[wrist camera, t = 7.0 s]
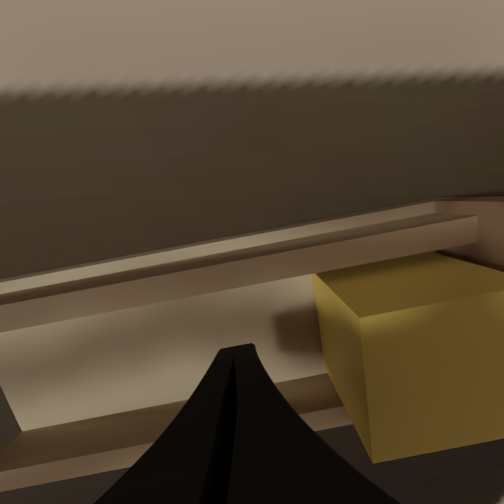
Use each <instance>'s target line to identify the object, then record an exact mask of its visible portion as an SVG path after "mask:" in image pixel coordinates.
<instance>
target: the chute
mask: <svg viewBox="0 0 504 504" xmlns="http://www.w3.org/2000/svg"><path fill="white" fill-rule="evenodd" d="M425 252H433V253H437V254H441V255H444V256H448V257H451V258H455V259H458V260H462V261H466V262H469V263H473V264H476V265H480V266H484V267H487V268H491V269H494V270H498V271H501V272H504V196H495V197H436V198H431V199H426V200H420V201H415V202H410V203H404V204H399V205H394V206H388V207H383V208H378V209H372V210H367V211H362V212H356V213H351V214H346V215H340V216H335V217H330V218H324V219H319V220H314V221H308V222H303V223H298V224H292V225H287V226H282V227H276V228H271V229H266V230H260V231H255V232H250V233H244V234H239V235H234V236H228V237H223V238H218V239H212V240H207V241H202V242H196V243H191V244H186V245H180V246H175V247H170V248H164V249H159V250H154V251H148V252H143V253H138V254H132V255H127V256H122V257H116V258H111V259H106V260H100V261H95V262H90V263H84V264H79V265H74V266H68V267H63V268H58V269H52V270H47V271H42V272H36V273H31V274H26V275H20V276H15V277H10V278H4V279H0V386H1V388H2V390H3V392H4V394H5V396H6V398H7V400H8V403H9V405H10V407H11V409H12V411H13V413H14V415H15V417H16V419H17V422H18V424H19V426H20V428H21V430H22V432H21V433H20V434H19V435H18V436H17V437H16V438H15V440H14V441H13V442H12V443H11V444H10V445H9V446H8V447H7V448H6V449H5V450H4V451H3V452H2V453H1V454H0V492H2V491H7V490H12V489H18V488H23V487H28V486H33V485H38V484H44V483H49V482H54V481H59V480H64V479H69V478H75V477H80V476H85V475H90V474H95V473H101V472H106V471H111V470H116V469H121V468H127V467H132V466H133V465H134V463H135V462H136V461H137V460H138V459H139V458H140V457H141V456H142V455H143V454H144V453H145V452H146V451H147V450H148V449H149V448H150V447H151V446H152V445H153V443H154V442H155V441H156V440H157V439H158V438H159V436H160V435H161V434H162V433H163V432H164V431H165V429H166V428H167V427H168V426H169V425H170V423H171V422H172V421H173V419H174V418H175V417H176V416H177V414H178V413H179V412H180V410H181V409H182V407H183V406H184V405H185V403H186V402H187V400H188V399H189V398H190V396H191V395H192V393H193V392H194V390H195V389H196V387H197V386H198V384H199V383H200V381H201V380H202V378H203V376H204V375H205V373H206V372H207V370H208V368H209V367H210V365H211V363H212V361H213V360H214V358H215V356H216V354H217V353H218V351H219V350H220V349H221V348H227V347H232V346H237V345H243V344H248V343H253V344H254V345H255V347H256V351H257V354H258V356H259V359H260V361H261V363H262V365H263V366H264V368H265V370H266V371H267V373H268V375H269V376H270V378H271V380H272V381H273V383H274V384H275V386H276V387H277V388H278V390H279V391H280V392H281V394H282V395H283V396H284V398H285V399H286V400H287V401H288V403H289V404H290V405H291V406H292V408H293V409H294V410H295V411H296V412H297V413H298V414H299V416H300V417H301V418H302V419H303V420H304V421H305V422H306V423H307V424H308V425H309V426H310V427H311V428H312V429H313V430H314V431H319V430H324V429H329V428H334V427H339V426H344V425H350V424H353V422H352V420H351V418H350V416H349V414H348V413H347V411H346V409H345V407H344V405H343V403H342V401H341V399H340V397H339V395H338V393H337V391H336V389H335V387H334V385H333V383H332V381H331V379H330V377H329V375H328V373H327V371H326V369H325V366H324V358H323V351H322V343H321V336H320V329H319V321H318V314H317V306H316V299H315V291H314V284H313V277H312V274H313V273H319V272H324V271H329V270H335V269H340V268H345V267H350V266H356V265H361V264H366V263H372V262H377V261H382V260H387V259H393V258H398V257H403V256H409V255H414V254H419V253H425Z"/></svg>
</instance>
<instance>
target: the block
mask: <svg viewBox="0 0 504 504" xmlns="http://www.w3.org/2000/svg"><path fill="white" fill-rule="evenodd" d="M312 277H313V284H314V291H315V299H316V306H317V314H318V321H319V329H320V336H321V343H322V351H323V358H324V366H325V369H326V371H327V373H328V375H329V377H330V379H331V381H332V383H333V385H334V387H335V389H336V391H337V393H338V395H339V397H340V399H341V401H342V403H343V405H344V407H345V409H346V411H347V413H348V414H349V416H350V418H351V420H352V422H353V424H354V426H355V428H356V430H357V432H358V434H359V436H360V438H361V440H362V442H363V444H364V446H365V448H366V450H367V452H368V454H369V456H370V458H371V460H372V462H373V464H374V463H379V462H384V461H389V460H394V459H399V458H404V457H410V456H415V455H420V454H425V453H430V452H435V451H441V450H446V449H451V448H456V447H461V446H466V445H472V444H477V443H482V442H487V441H492V440H497V439H502V438H504V272H501V271H498V270H494V269H491V268H487V267H484V266H480V265H476V264H473V263H469V262H466V261H462V260H458V259H455V258H451V257H448V256H444V255H441V254H437V253H433V252H425V253H419V254H414V255H409V256H403V257H398V258H393V259H387V260H382V261H377V262H372V263H366V264H361V265H356V266H350V267H345V268H340V269H335V270H329V271H324V272H319V273H313V274H312Z"/></svg>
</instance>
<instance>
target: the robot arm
mask: <svg viewBox="0 0 504 504" xmlns="http://www.w3.org/2000/svg"><path fill="white" fill-rule="evenodd" d="M94 504H401V503H399V502H398V501H397V500H395V499H394V498H393V497H391V496H390V495H388V494H387V493H386V492H384V491H383V490H382V489H381V488H379V487H378V486H377V485H375V484H374V483H373V482H372V481H370V480H369V479H368V478H367V477H365V476H364V475H363V474H361V473H360V472H359V471H358V470H357V469H356V468H354V467H353V466H352V465H351V464H350V463H348V462H347V461H346V460H345V459H344V458H342V457H341V456H340V455H339V454H338V453H337V452H336V451H335V450H334V449H333V448H332V447H331V446H329V445H328V444H327V443H326V442H325V441H324V440H323V439H322V438H321V437H320V436H319V435H318V434H317V433H316V432H315V431H314V430H313V429H312V428H311V427H310V426H309V425H308V424H307V423H306V422H305V421H304V420H303V419H302V418H301V417H300V416H299V414H298V413H297V412H296V411H295V410H294V409H293V408H292V406H291V405H290V404H289V403H288V401H287V400H286V399H285V398H284V396H283V395H282V394H281V392H280V391H279V390H278V388H277V387H276V386H275V384H274V383H273V381H272V380H271V378H270V376H269V375H268V373H267V371H266V370H265V368H264V366H263V365H262V363H261V361H260V359H259V356H258V354H257V351H256V347H255V345H254V344H253V343H248V344H243V345H237V346H232V347H227V348H221V349H220V350H219V351H218V353H217V354H216V356H215V358H214V360H213V361H212V363H211V365H210V367H209V368H208V370H207V372H206V373H205V375H204V376H203V378H202V380H201V381H200V383H199V384H198V386H197V387H196V389H195V390H194V392H193V393H192V395H191V396H190V398H189V399H188V400H187V402H186V403H185V405H184V406H183V407H182V409H181V410H180V412H179V413H178V414H177V416H176V417H175V418H174V419H173V421H172V422H171V423H170V425H169V426H168V427H167V428H166V429H165V431H164V432H163V433H162V434H161V435H160V436H159V438H158V439H157V440H156V441H155V442H154V443H153V445H152V446H151V447H150V448H149V449H148V450H147V451H146V452H145V453H144V454H143V455H142V456H141V457H140V458H139V459H138V460H137V461H136V462H135V463H134V465H133V466H132V467H131V468H130V469H129V470H128V471H127V472H126V473H125V474H124V475H123V476H122V477H121V478H120V479H119V480H118V481H117V482H116V483H115V484H114V485H113V486H112V487H111V488H110V489H109V490H108V491H107V492H105V493H104V494H103V495H102V496H101V497H100V498H99V499H98V500H97V501H96V502H95V503H94Z"/></svg>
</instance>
